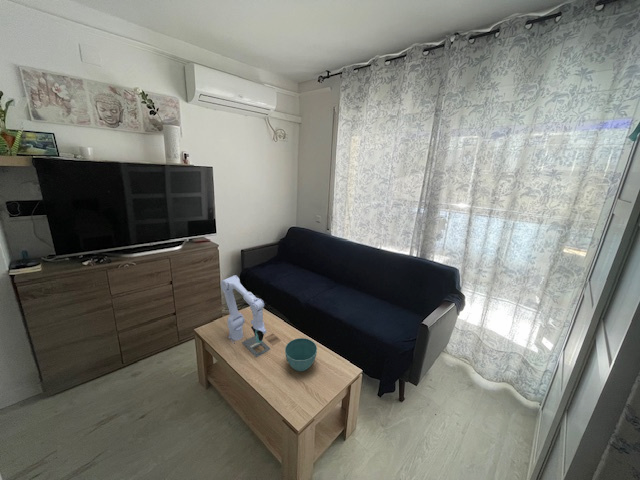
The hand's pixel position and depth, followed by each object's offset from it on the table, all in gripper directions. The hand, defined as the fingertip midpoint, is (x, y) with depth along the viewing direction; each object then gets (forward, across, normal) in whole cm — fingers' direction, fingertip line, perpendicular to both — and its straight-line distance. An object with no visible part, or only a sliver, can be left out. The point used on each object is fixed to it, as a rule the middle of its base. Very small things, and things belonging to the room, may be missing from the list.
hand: (258, 338), depth 151 cm
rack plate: (+10, +4, 0) cm, 11 cm away
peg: (+2, 0, 0) cm, 2 cm away
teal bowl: (+10, -26, -12) cm, 31 cm away
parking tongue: (+10, +2, -12) cm, 15 cm away
